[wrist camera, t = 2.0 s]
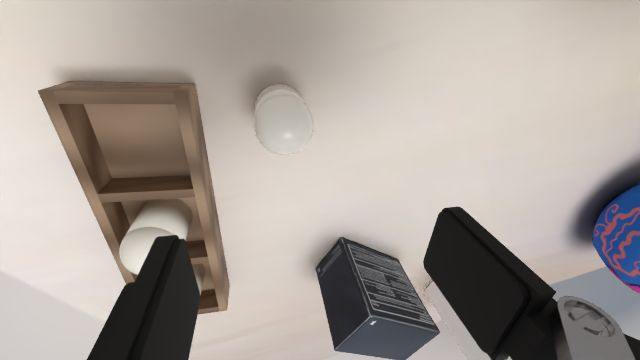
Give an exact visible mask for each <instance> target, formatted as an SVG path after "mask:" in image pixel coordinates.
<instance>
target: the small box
mask: <svg viewBox="0 0 640 360" xmlns="http://www.w3.org/2000/svg"><path fill="white" fill-rule="evenodd" d="M316 272H317V276H318V280H319V284H320V288H321V293H322V297H323V301H324V305H325V310H326V314H327V319H328V323H329V328H330V332H331V336H332V341H333V345H334V350H335V351H340V352H347V353H354V354H361V355H367V356H375V357H381V358H388V359H394V360H406V359H407V358H408V357H410V356H411V355H412V354H413V353H415V352H416V351H417V350H418V349H420V348H421V347H422V346H424V344H426V343H427V342H429V341H430V340H431V339H433V338H434V337H435V336H437V335H438V334H439V333H440V331H439V329H438V327H437V326H436V325H435V323H434V321H433V320H432V318H431V317H430V315H429V313H428V312H427V310H426V308H425V307H424V305H423V303H422V301H421V299H420V298H419V296H418V294H417V293H416V291H415V289H414V287H413V286H412V284H411V282H410V280H409V279H408V277H407V275H406V273H405V271H404V270H403V268H402V266H401V264H400V262H399V260H398V259H395V258H393V257H391V256H388V255H385V254H383V253H380V252H378V251H375V250H373V249H370V248H367V247H365V246H362V245H360V244H357V243H355V242H352V241H349V240H347V239H344V238H341V239H340V240H339V241H338V242H337V244H336V245H335V246H334V247H333V249H332V250H331V251H330V252H329V253H328V255H327V256H326V257H325V258H324V259H323V260H322V261H321V263H320V264H319V265H318V267H317V268H316Z"/></svg>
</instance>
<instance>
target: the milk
mask: <svg viewBox="0 0 640 360" xmlns="http://www.w3.org/2000/svg"><path fill="white" fill-rule="evenodd" d="M425 292H426V294H427V295H428V297H429V298H430V300H431V302H432V303H433V305H434V306H435V308H436V310H437V311H438V313H439V314H440V316H441V318H442V319H443V321H444V322H445V324H446V326H447V327H448V329H449V330H450V332H451V333H452V335H453V337H454V338H455V340H456V341H457V343H458V345H459V346H460V348H461V350H462V351H463V353H464V354H465V356H466V357H467V359H468V360H491V359H490V357H489V356H488V354H487V353H484V352H483V351H482V350H481V349H480V348H479V346H478V345H477V343H476V342H475V340H474V339H473V338H472V336H471V335H470V333H469V332H468V330H467V329H466V327H465V326H464V325H463V323H462V322H461V320H460V319H459V317H458V316H457V314H456V313H455V312H454V310H453V309H452V307H451V306H450V304H449V303H448V301H447V300H446V299H445V297H444V296H443V294H442V293H441V291H440V290H439V288H438V287H437V286H436V284H435V283H434V281H432V282H431V283H430V285H429V286H428V287H427V288H426V289H425ZM507 360H512V359H511V358H510V356H509V357H508V359H507Z"/></svg>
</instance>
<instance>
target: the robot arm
mask: <svg viewBox="0 0 640 360" xmlns="http://www.w3.org/2000/svg"><path fill="white" fill-rule="evenodd" d="M423 263H424V267H425V270H426V271H427V273H428V274H429V275H430V277H431V278H432V280H433V281H434V283H435V284H436V286H437V287H438V288H439V290H440V291H441V293H442V294H443V296H444V297H445V299H446V300H447V301H448V303H449V304H450V306H451V307H452V309H453V310H454V312H455V313H456V314H457V316H458V317H459V319H460V320H461V322H462V323H463V325H464V326H465V327H466V329H467V330H468V332H469V333H470V335H471V336H472V338H473V339H474V340H475V342H476V343H477V345H478V346H479V348H480V349H481V350H482V351H483V352H484V353H487V354H488V356H489V357H490V359H491V360H507V359H508V357H509V356H510V358H511V359H512V360H640V340H637V339H635V338H632V337H630V336H627V335H625V334H623V332H622V330H621V328H620V327H619V325H618V324H617V322H616V321H615V320H614V319H613V318H612V317H611V316H610V315H608V314H607V313H606V312H605V311H603V310H602V309H601V308H599V307H597V306H596V305H594V304H592V303H590V302H588V301H586V300H583V299H581V298H577V297H573V296H564V297H560V298H559V300H558V301H557V302H556V301H555V300H554V299H553V298H552V297H553V296H554V294H555V293H556V291H554V290H553V289H552V288H551V287H550V286H549V285H548V284H547V283H545V282H544V281H543V280H542V279H541V278H540V277H539V276H538V275H536V274H535V273H534V272H533V271H532V270H531V269H530V268H529V267H527V266H526V265H525V264H524V263H523V262H522V261H521V260H520V259H518V258H517V257H516V256H515V255H514V254H513V253H512V252H511V251H509V250H508V249H507V248H506V247H505V246H504V245H503V244H502V243H500V242H499V241H498V240H497V239H496V238H495V237H494V236H493V235H491V234H490V233H489V232H488V231H487V230H486V229H485V228H484V227H483V226H481V225H480V224H479V223H478V222H477V221H476V220H475V219H474V218H472V217H471V216H470V215H469V214H468V213H467V212H466V211H465V210H463V209H462V208H461V207H450V208H444V209H443V210H442V212H440V213H439V215H438V218H437V221H436V224H435V227H434V230H433V233H432V236H431V239H430V242H429V245H428V248H427V251H426V254H425V258H424V261H423ZM199 304H200V291H199V288H198V284H197V281H196V277H195V274H194V270H193V266H192V263H191V259H190V256H189V252H188V249H187V245H186V242H185V240H184V239H179V237H178V236H177V235H169V236H159V237H156V238H155V240H154V242H153V244H152V246H151V248H150V251H149V253H148V255H147V257H146V259H145V261H144V263H143V265H142V267H141V269H140V272H139V274H138V276H137V278H136V280H135V282H130V283H128V284H127V285H125V287H124V288H123V290H122V292H121V293H120V295H119V297H118V299H117V301H116V303H115V305H114V307H113V309H112V311H111V313H110V315H109V317H108V319H107V321H106V323H105V325H104V327H103V329H102V331H101V333H100V335H99V337H98V339H97V341H96V343H95V345H94V347H93V349H92V351H91V353H90V355H89V357H88V359H87V360H188V358H189V353H190V348H191V343H192V338H193V334H194V329H195V324H196V319H197V314H198V309H199Z"/></svg>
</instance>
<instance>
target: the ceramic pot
mask: <svg viewBox="0 0 640 360" xmlns="http://www.w3.org/2000/svg"><path fill="white" fill-rule="evenodd" d="M593 244H594V246H595V248H596V250H597V252H598V254H599V256H600V257H601V259H602V260H603V262H604V263H605V265H606V266H607V267H608V268H609V270H610V271H611V272H612V273H613V274H614V275H615V276H616V277H617V278H618V279H620V280H621V281H622V282H623V283H624V284H625V285H626V286H628V287H630V288H631V289H633V290H634V291H636V292H638V293H640V185H637V186H635V187H633V188H631V189H629V190H627V191H625V192H624V193H622V194H621V195H619V196H618V197H616V198H615V199H614V200H613V201H612V202H610V203H609V204H608V205H607V206H606V207H605V209H604V210H603V211H602V212H601V214H600V215H599V217H598V219H597V222H596V224H595V227H594V233H593Z"/></svg>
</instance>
